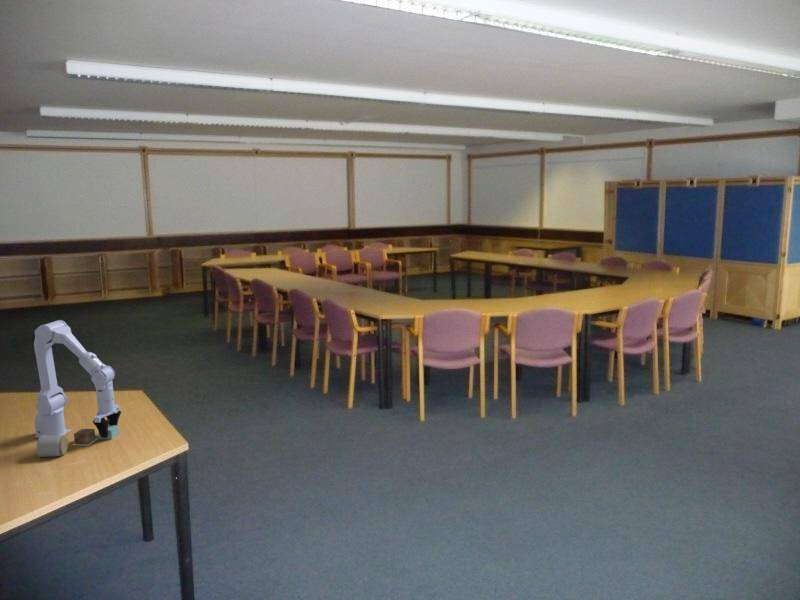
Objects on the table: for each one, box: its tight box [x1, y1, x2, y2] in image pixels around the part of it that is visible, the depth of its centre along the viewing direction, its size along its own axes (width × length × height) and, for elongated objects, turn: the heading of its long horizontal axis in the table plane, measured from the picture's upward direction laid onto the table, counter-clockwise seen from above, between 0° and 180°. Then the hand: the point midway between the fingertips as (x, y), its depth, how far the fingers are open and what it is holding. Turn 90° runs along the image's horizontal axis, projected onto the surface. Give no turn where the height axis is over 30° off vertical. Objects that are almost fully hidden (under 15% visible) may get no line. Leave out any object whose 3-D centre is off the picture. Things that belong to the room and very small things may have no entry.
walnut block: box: [73, 428, 96, 444], centre depth 235 cm, size 5×5×4 cm
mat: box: [71, 437, 99, 446], centre depth 235 cm, size 10×9×1 cm
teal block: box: [98, 424, 120, 441], centre depth 240 cm, size 5×5×4 cm
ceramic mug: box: [36, 435, 69, 458], centre depth 225 cm, size 11×8×8 cm
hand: (108, 433), depth 240 cm, fingers open, 6 cm apart
